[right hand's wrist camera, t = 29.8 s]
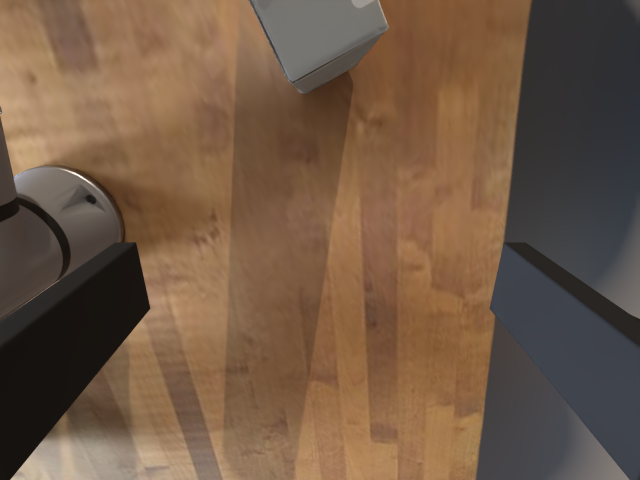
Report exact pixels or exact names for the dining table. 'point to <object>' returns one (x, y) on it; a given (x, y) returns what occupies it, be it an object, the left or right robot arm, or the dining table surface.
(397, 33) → the dining table surface
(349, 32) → the hard drive box
